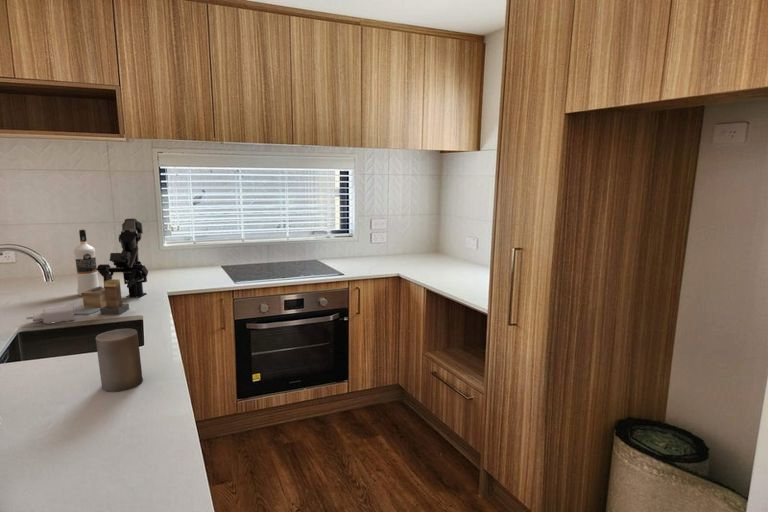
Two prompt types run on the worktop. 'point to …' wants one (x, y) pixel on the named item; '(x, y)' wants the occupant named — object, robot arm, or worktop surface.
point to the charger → (55, 314)
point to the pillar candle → (119, 359)
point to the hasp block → (114, 310)
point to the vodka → (85, 265)
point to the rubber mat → (87, 311)
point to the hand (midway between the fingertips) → (116, 287)
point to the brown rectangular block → (113, 293)
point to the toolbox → (94, 298)
